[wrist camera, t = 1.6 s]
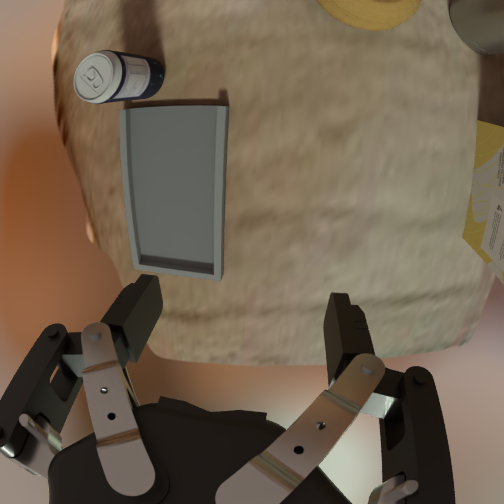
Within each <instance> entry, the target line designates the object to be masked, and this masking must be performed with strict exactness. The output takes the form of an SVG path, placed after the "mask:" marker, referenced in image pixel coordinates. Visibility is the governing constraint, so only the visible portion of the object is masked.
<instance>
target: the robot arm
mask: <svg viewBox="0 0 504 504" xmlns="http://www.w3.org/2000/svg"><path fill="white" fill-rule="evenodd" d="M450 17H451V21H452V23H453V26H454V28H455V30H456V32H457V33H458V35H459V36H460V38H461V39H462V40H463V41H464V42H465V43H466V44H467V45H468V46H469V47H470V48H471V49H473V50H474V51H476V52H478V53H480V54H485V55H488V54H492V55H494V54H504V0H453V1H452V3H451V5H450ZM162 308H163V300H162V295H161V289H160V284H159V279H158V277H157V276H155V275H147V274H141V275H140V277H139V278H138V279H137V281H136V282H135V283H131V284H129V285H128V286H126V287H125V288H124V289H123V290H122V291H121V293H120V294H119V295H118V297H117V298H116V300H115V301H114V303H113V304H112V305H111V307H110V308H109V310H108V311H107V313H106V314H105V315H104V317H103V318H102V320H101V321H100V322H96V323H92V324H90V325H88V326H87V327H85V328H84V330H83V331H82V332H71V333H68V332H67V330H66V328H65V326H64V325H62V324H52V325H50V326H48V327H46V328H45V330H44V331H43V332H42V333H41V335H40V336H39V338H38V339H37V341H36V342H35V344H34V345H33V347H32V348H31V350H30V351H29V353H28V354H27V356H26V357H25V359H24V361H23V362H22V364H21V365H20V367H19V369H18V370H17V372H16V374H15V375H14V377H13V379H12V380H11V382H10V384H9V386H8V387H7V389H6V391H5V393H4V394H3V396H2V398H1V400H0V452H1V453H2V454H3V455H4V456H5V457H7V458H8V459H9V460H11V461H12V462H14V463H15V464H17V465H18V466H19V467H21V468H24V469H25V470H27V471H28V472H30V473H32V474H34V475H41V476H42V477H44V478H46V479H48V483H49V493H50V494H49V499H50V500H49V504H352V503H351V502H350V501H349V500H348V499H347V498H346V497H345V496H344V494H343V493H342V492H341V491H340V490H339V489H338V488H337V487H336V486H335V485H334V483H333V482H332V481H331V480H330V479H329V478H328V477H327V476H326V474H325V473H324V472H323V471H322V470H321V469H320V467H319V466H318V465H319V464H320V463H321V462H322V461H323V459H324V458H325V457H326V456H327V455H328V454H329V452H330V451H331V450H332V449H333V447H334V446H335V445H336V444H337V442H338V441H339V440H340V439H341V437H342V436H343V435H344V433H345V432H346V431H347V429H348V428H349V426H350V425H351V424H352V423H353V421H354V420H355V419H356V417H357V416H358V414H359V413H363V414H367V415H371V416H375V417H379V424H380V436H381V453H382V480H383V481H382V482H383V484H381V485H379V486H378V487H376V488H375V489H374V490H373V491H372V492H371V494H370V497H369V501H368V504H455V491H454V481H453V472H452V465H451V457H450V451H449V445H448V440H447V435H446V429H445V424H444V419H443V415H442V410H441V406H440V402H439V398H438V394H437V390H436V386H435V382H434V379H433V376H432V374H431V373H430V372H429V371H428V370H426V369H425V368H423V367H419V366H413V367H410V368H408V369H407V370H406V372H405V373H403V372H399V371H395V370H391V369H388V368H386V367H385V365H384V363H383V362H382V360H381V359H380V358H378V357H377V356H375V352H374V348H373V344H372V340H371V336H370V333H369V330H368V325H367V323H366V318H365V314H364V312H363V311H362V310H361V308H360V307H359V306H358V305H351V303H350V299H349V295H348V294H347V293H333V292H332V293H331V294H330V298H329V302H328V306H327V310H326V314H325V318H324V339H325V349H326V360H327V371H328V384H329V389H328V390H324V391H323V392H322V393H321V394H320V395H319V396H318V397H317V398H316V399H315V401H314V402H313V403H312V404H311V405H310V406H309V407H308V408H307V409H306V410H305V411H304V412H303V414H301V416H300V417H299V418H298V419H297V420H296V421H295V422H294V423H293V424H292V425H291V426H290V427H289V428H288V429H287V430H286V429H285V428H283V427H282V426H280V425H279V424H277V423H274V422H272V421H269V420H266V415H267V413H264V412H254V411H244V410H235V411H221V412H209V411H206V410H204V409H201V408H199V407H197V406H194V405H192V404H190V403H187V402H185V401H181V400H176V399H171V398H166V397H162V396H160V399H159V401H158V403H150V404H145V405H141V406H140V405H139V403H138V401H137V398H136V395H135V392H134V390H133V387H132V384H131V381H130V378H129V375H128V372H127V369H126V364H127V362H128V361H130V362H135V363H137V361H138V359H139V357H140V355H141V353H142V351H143V349H144V346H145V344H146V342H147V340H148V338H149V336H150V334H151V332H152V330H153V328H154V326H155V324H156V322H157V320H158V319H159V317H160V315H161V312H162ZM56 366H58V370H57V372H56V374H55V376H54V377H53V379H52V381H51V383H50V377H51V375H52V373H53V371H54V370H55V368H56ZM83 382H84V387H85V392H86V397H87V402H88V407H89V411H90V415H91V419H92V424H93V427H94V431H95V432H93V433H92V434H90V435H88V436H87V437H85V438H83V439H81V440H79V441H77V442H76V443H74V444H72V445H70V446H68V447H66V448H65V449H63V447H62V438H61V436H60V433H61V430H62V428H63V426H64V423H65V421H66V419H67V416H68V414H69V412H70V409H71V407H72V405H73V403H74V401H75V398H76V396H77V394H78V392H79V390H80V388H81V385H82V383H83Z"/></svg>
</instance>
